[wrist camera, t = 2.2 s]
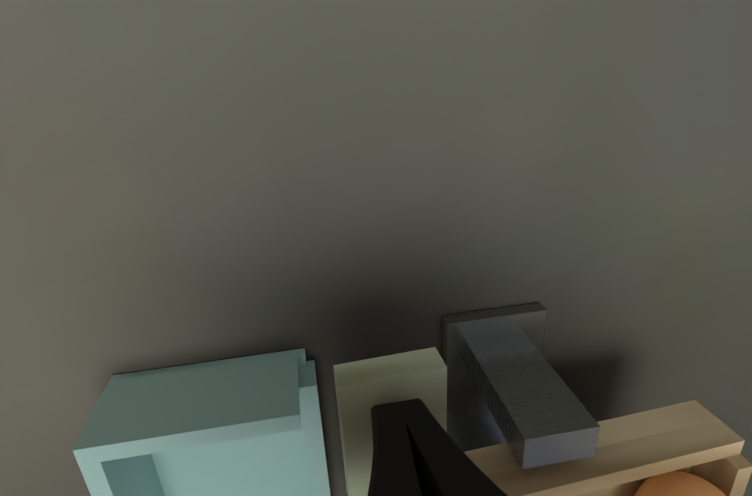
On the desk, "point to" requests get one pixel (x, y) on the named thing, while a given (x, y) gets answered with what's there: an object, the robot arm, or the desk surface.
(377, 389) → the beige tray
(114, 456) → the dish
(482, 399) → the stand
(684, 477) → the ball
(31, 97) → the desk surface
